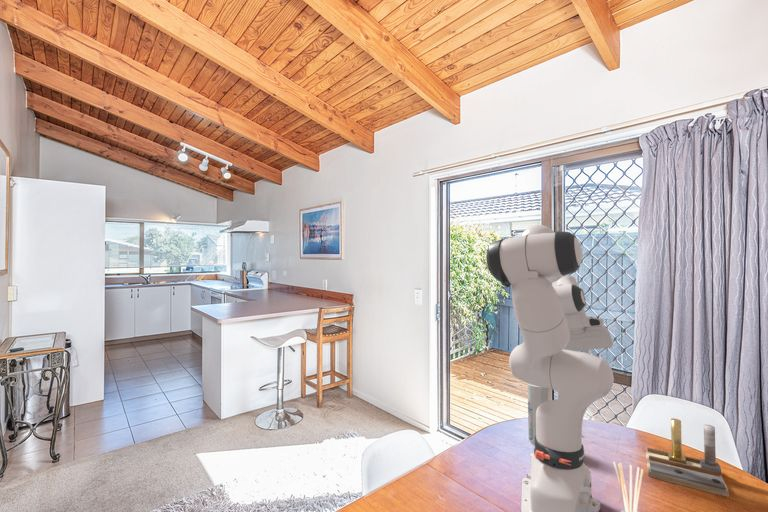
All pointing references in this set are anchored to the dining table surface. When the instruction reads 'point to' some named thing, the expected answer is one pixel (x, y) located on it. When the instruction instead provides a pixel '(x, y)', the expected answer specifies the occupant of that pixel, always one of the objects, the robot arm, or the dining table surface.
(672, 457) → the leg
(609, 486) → the dining table surface
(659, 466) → the base
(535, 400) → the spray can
